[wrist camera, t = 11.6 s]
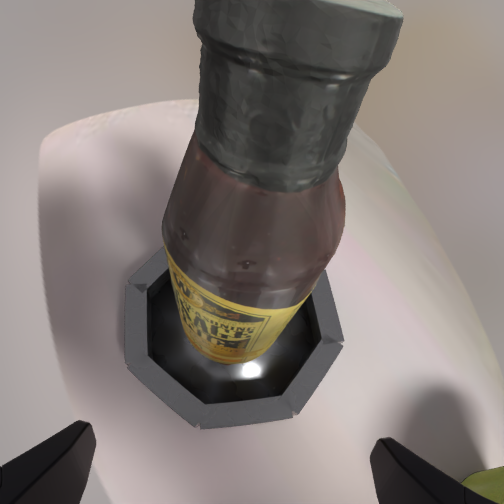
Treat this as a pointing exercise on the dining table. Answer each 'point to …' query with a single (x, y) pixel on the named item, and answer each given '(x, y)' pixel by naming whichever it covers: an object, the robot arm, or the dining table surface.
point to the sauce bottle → (267, 162)
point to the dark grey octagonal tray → (218, 375)
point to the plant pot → (488, 484)
